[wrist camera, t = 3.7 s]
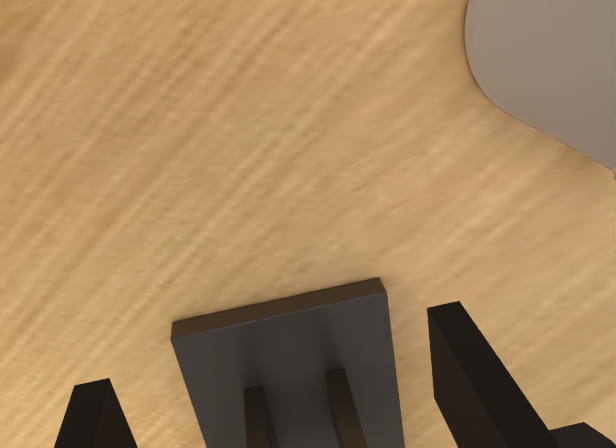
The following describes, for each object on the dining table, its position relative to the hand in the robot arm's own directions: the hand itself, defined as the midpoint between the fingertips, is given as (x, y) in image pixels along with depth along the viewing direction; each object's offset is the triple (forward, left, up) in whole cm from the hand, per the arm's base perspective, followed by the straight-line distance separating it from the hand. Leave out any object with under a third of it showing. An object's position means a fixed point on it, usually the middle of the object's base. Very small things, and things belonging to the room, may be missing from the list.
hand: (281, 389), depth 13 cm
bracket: (+12, 0, -13) cm, 17 cm away
